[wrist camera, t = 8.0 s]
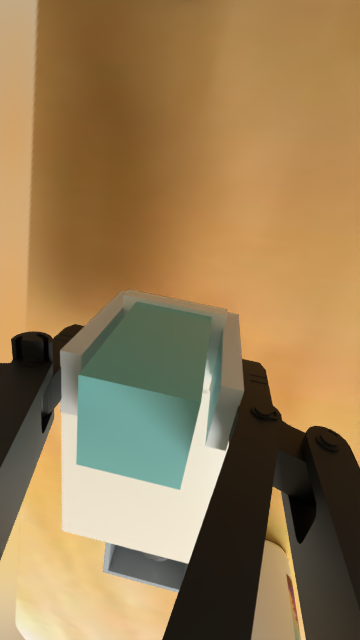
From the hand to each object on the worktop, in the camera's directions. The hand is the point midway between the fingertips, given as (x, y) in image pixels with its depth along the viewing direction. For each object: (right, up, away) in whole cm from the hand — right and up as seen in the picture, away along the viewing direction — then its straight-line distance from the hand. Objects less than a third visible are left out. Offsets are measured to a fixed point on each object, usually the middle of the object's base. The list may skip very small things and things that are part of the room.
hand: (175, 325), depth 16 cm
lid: (-1, -7, +2) cm, 8 cm away
